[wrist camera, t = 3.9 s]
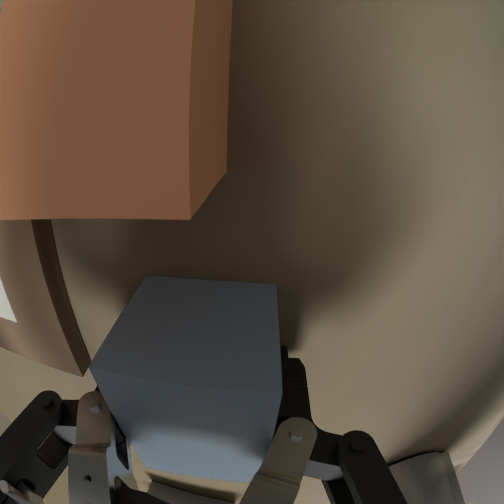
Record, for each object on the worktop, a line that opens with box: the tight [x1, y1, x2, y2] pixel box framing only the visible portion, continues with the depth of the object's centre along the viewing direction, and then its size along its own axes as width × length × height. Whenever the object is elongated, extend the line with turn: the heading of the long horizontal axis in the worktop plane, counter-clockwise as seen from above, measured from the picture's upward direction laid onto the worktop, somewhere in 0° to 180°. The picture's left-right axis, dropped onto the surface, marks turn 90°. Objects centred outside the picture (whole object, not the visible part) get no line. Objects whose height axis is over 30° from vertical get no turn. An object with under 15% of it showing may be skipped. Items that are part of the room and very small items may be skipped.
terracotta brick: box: [0, 0, 233, 220], centre depth 5 cm, size 5×7×5 cm
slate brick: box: [89, 275, 283, 482], centre depth 10 cm, size 5×7×5 cm
